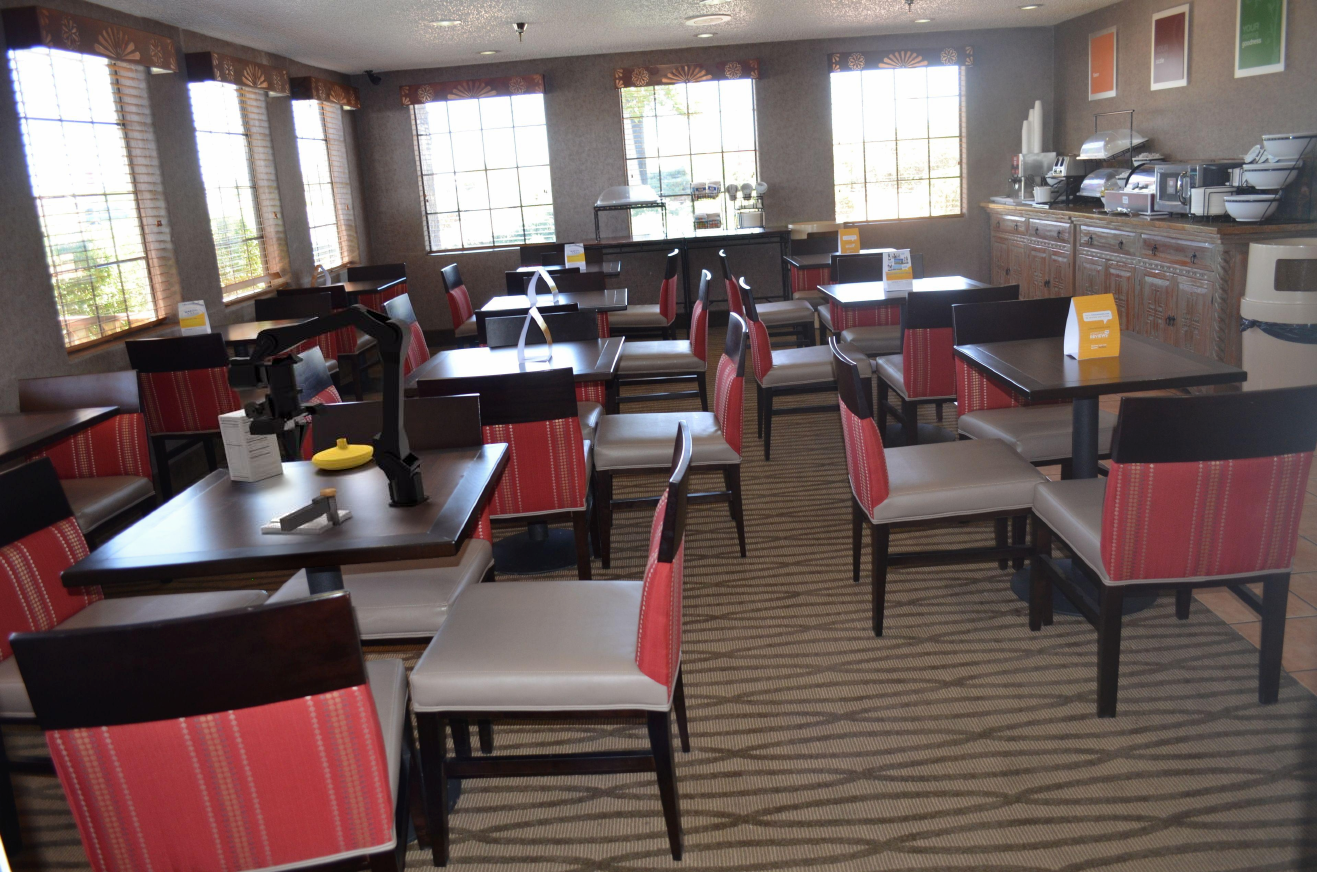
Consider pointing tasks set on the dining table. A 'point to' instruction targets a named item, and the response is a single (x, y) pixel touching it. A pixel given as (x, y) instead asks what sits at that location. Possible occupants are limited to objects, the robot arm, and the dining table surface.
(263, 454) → the supplement box
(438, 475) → the dining table surface
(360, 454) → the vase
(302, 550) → the dining table surface
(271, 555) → the dining table surface
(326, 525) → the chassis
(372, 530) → the dining table surface
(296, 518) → the bar
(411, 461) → the robot arm
